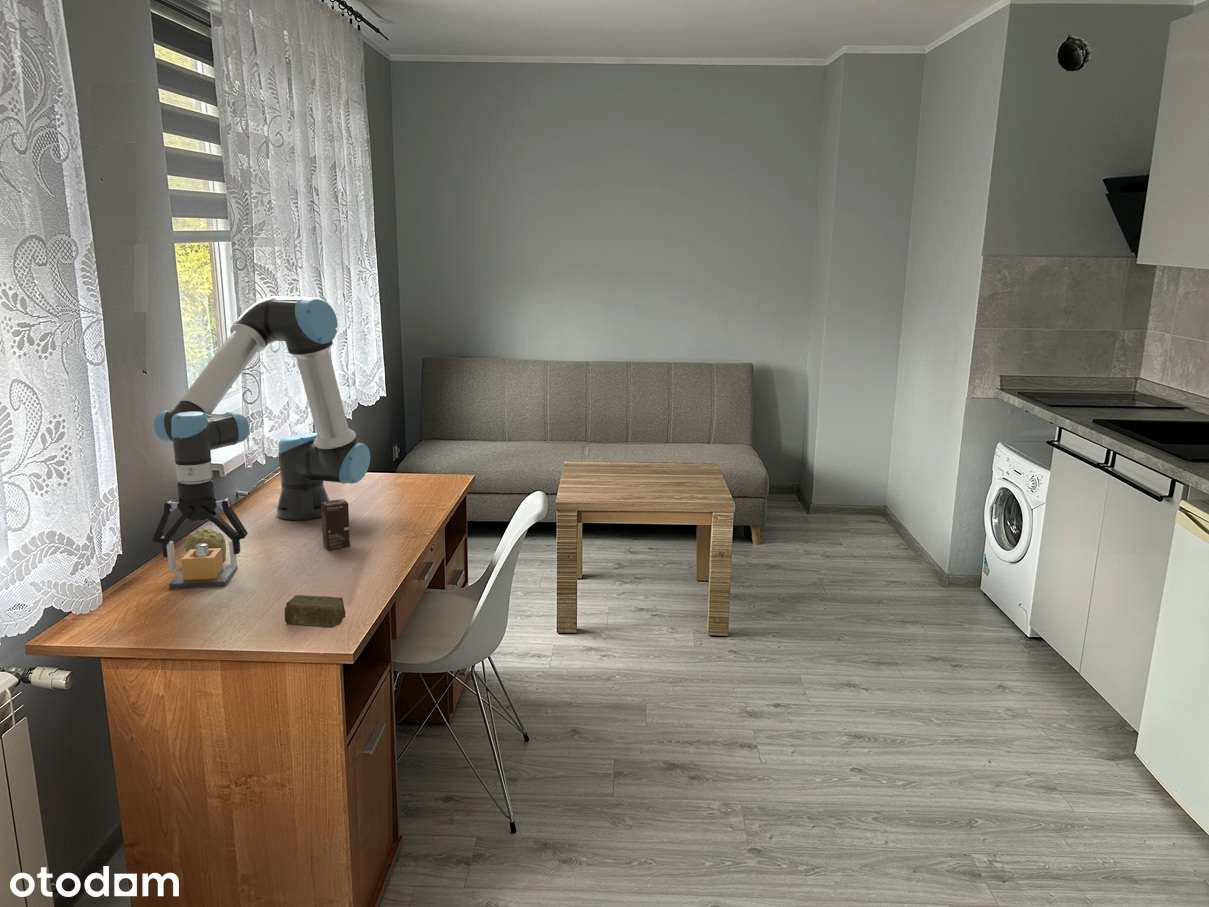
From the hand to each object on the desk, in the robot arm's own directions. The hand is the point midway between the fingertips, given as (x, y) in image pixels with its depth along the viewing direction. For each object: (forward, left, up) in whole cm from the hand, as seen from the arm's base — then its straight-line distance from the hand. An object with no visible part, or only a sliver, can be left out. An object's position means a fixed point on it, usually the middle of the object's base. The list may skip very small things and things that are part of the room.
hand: (203, 568), depth 214 cm
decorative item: (-14, -3, -3) cm, 15 cm away
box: (-20, +27, -3) cm, 34 cm away
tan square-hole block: (0, 0, -1) cm, 1 cm away
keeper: (0, 0, -2) cm, 2 cm away
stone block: (+30, +30, -3) cm, 42 cm away
